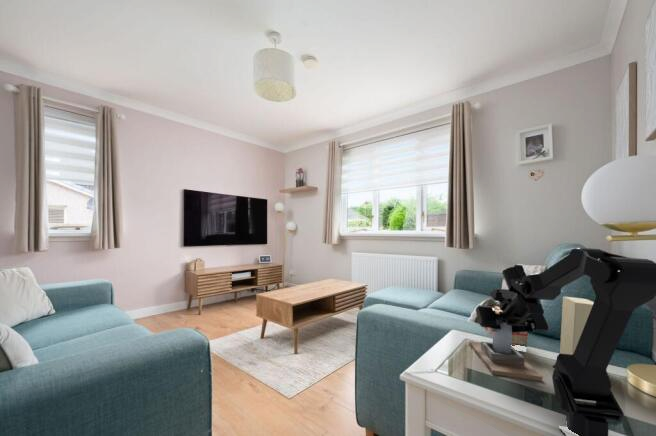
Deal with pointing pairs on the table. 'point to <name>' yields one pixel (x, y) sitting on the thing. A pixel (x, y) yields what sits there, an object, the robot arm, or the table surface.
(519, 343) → the stack of blocks
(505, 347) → the peach-capped cylinder
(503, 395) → the table surface
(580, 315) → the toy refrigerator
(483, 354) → the jig board
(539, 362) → the table surface
